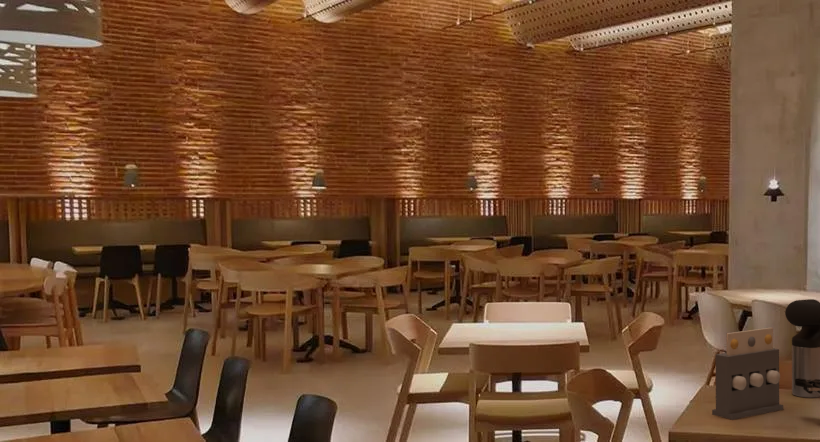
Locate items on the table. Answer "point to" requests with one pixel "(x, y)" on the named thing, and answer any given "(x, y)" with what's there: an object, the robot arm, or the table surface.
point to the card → (749, 341)
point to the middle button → (755, 379)
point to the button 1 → (738, 382)
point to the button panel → (751, 397)
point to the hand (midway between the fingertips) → (796, 381)
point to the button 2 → (772, 376)
